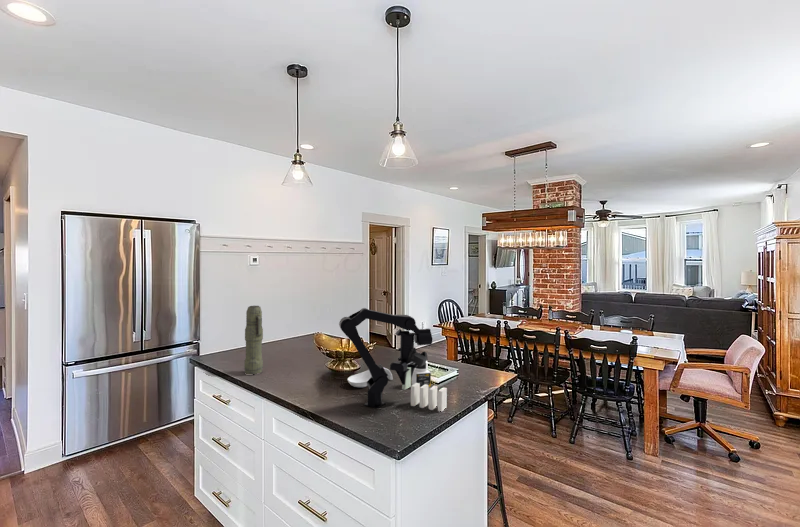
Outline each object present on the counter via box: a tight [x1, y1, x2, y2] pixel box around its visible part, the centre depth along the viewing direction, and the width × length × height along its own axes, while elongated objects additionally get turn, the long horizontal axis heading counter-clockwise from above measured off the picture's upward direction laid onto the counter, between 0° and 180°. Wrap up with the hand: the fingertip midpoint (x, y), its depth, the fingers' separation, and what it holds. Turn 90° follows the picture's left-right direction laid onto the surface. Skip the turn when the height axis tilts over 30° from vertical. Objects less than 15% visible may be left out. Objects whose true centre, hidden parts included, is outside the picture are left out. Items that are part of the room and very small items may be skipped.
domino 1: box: [410, 383, 420, 407], centre depth 159 cm, size 2×5×8 cm, turn 152°
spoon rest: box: [347, 366, 394, 389], centre depth 186 cm, size 24×12×7 cm, turn 128°
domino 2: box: [419, 384, 429, 409], centre depth 157 cm, size 2×5×8 cm, turn 152°
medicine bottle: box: [411, 360, 432, 388], centre depth 183 cm, size 7×7×12 cm
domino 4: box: [437, 387, 448, 413], centre depth 153 cm, size 2×5×8 cm, turn 150°
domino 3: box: [428, 385, 438, 411], centre depth 155 cm, size 2×5×8 cm, turn 152°
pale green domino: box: [401, 367, 412, 391], centre depth 161 cm, size 2×5×8 cm, turn 152°
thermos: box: [243, 305, 264, 374], centre depth 201 cm, size 9×12×35 cm
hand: (406, 382), depth 161 cm, fingers closed on pale green domino, 5 cm apart
